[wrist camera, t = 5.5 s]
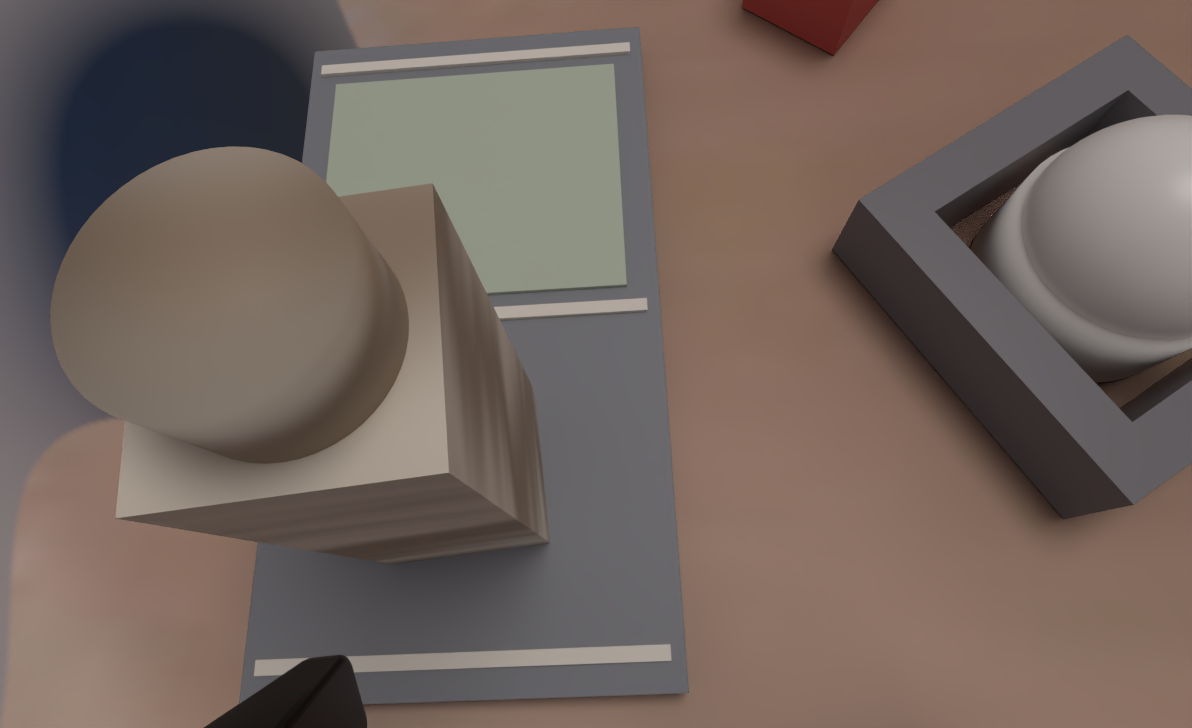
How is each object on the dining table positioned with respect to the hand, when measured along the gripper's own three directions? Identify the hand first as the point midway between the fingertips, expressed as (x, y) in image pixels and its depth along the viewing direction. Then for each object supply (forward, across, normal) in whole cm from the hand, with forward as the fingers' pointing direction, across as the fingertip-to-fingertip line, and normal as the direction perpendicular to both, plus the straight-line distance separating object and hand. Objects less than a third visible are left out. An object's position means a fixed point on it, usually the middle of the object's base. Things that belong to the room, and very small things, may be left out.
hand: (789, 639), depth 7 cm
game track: (+16, -5, -1) cm, 17 cm away
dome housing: (+15, +14, -2) cm, 21 cm away
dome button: (+15, +14, -2) cm, 20 cm away
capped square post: (+12, -6, -4) cm, 14 cm away
